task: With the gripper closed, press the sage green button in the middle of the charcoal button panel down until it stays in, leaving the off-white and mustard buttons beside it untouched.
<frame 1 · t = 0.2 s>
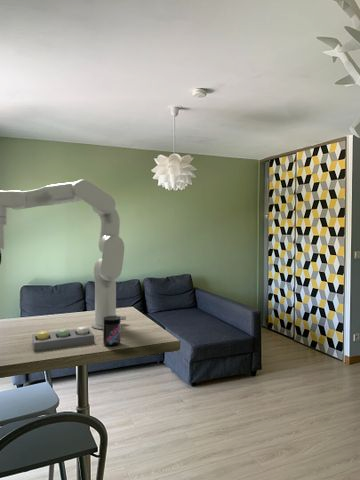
green button: (63, 333, 138), point 4 cm above the table, slide at 0.0 cm
white button: (82, 331, 141), point 4 cm above the table, slide at 0.0 cm
mustard button: (42, 336, 135), point 4 cm above the table, slide at 0.0 cm
button panel: (63, 342, 138), on the table
supplement container: (111, 344, 137), on the table
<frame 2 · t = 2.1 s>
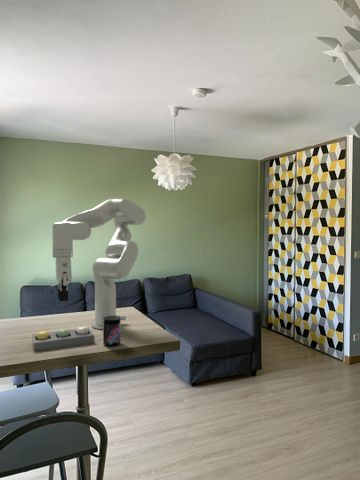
hand: (63, 299, 137), 17 cm above the table, tool pointing down, fingers open, 3 cm apart
nothing on the table moved.
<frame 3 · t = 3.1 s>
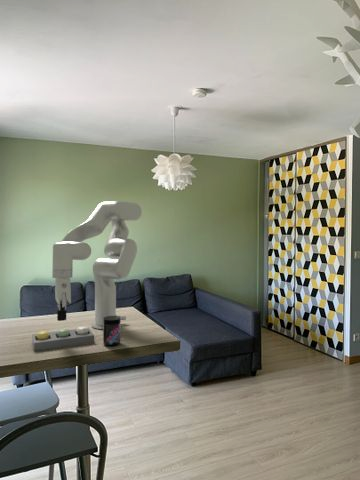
hand: (61, 320, 137), 9 cm above the table, tool pointing down, fingers closed
nothing on the table moved.
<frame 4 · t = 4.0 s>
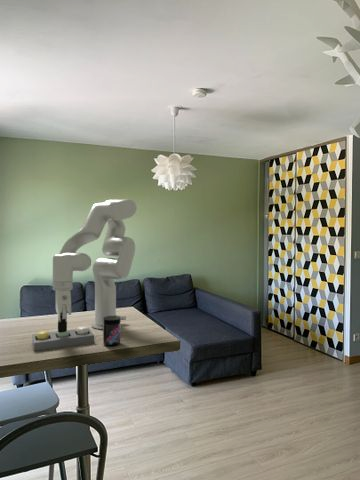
hand: (62, 331, 137), 5 cm above the table, tool pointing down, fingers closed
green button: (63, 334, 138), point 3 cm above the table, slide at 0.3 cm, touching gripper
everything else where it was.
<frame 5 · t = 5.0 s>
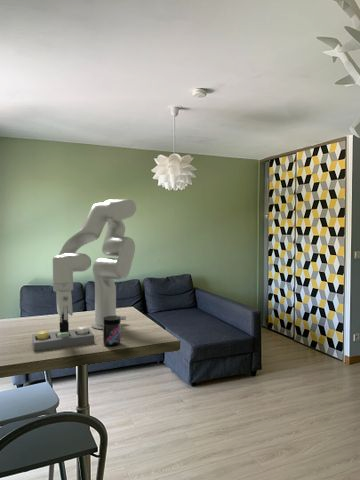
hand: (64, 331, 138), 4 cm above the table, tool pointing down, fingers closed
green button: (63, 337, 138), point 2 cm above the table, slide at 1.4 cm
everything else where it was.
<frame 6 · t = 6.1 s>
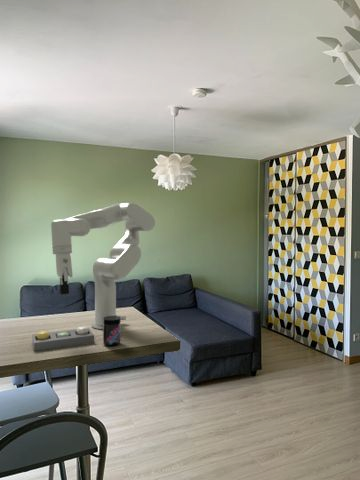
hand: (64, 293, 144), 18 cm above the table, tool pointing down, fingers closed
nothing on the table moved.
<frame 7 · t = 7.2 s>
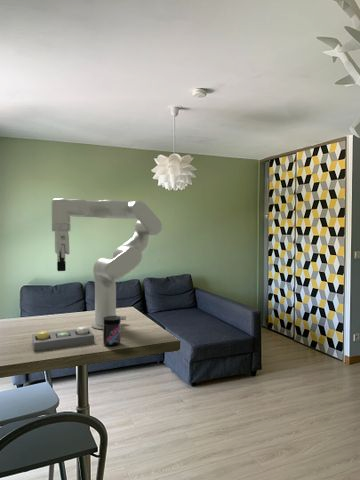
hand: (61, 270, 148), 27 cm above the table, tool pointing down, fingers closed
nothing on the table moved.
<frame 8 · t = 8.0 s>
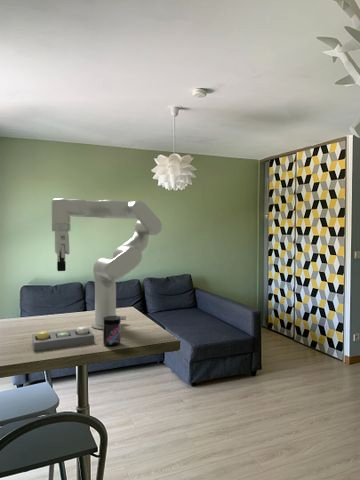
hand: (61, 270, 148), 27 cm above the table, tool pointing down, fingers closed
nothing on the table moved.
at the end: green button slide at 1.4 cm; white button slide at 0.0 cm; mustard button slide at 0.0 cm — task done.
